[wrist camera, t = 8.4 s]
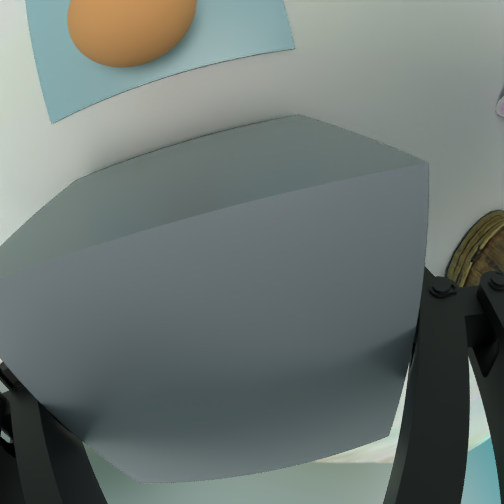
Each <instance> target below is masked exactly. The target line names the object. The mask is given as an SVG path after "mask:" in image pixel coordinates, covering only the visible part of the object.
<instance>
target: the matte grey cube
mask: <svg viewBox="0 0 504 504" xmlns="http://www.w3.org/2000/svg"><path fill="white" fill-rule="evenodd" d="M428 203H429V166H428V163H427V162H425V161H423V160H421V159H418V158H416V157H414V156H412V155H409V154H407V153H405V152H402V151H400V150H397V149H395V148H393V147H390V146H388V145H385V144H383V143H380V142H378V141H375V140H372V139H370V138H367V137H364V136H362V135H359V134H356V133H354V132H351V131H348V130H345V129H342V128H339V127H336V126H333V125H330V124H327V123H324V122H321V121H318V120H315V119H311V118H308V117H305V116H301V115H295V116H290V117H285V118H280V119H275V120H270V121H265V122H260V123H256V124H251V125H247V126H243V127H239V128H234V129H230V130H226V131H222V132H219V133H215V134H211V135H207V136H204V137H200V138H196V139H193V140H189V141H186V142H182V143H179V144H176V145H172V146H169V147H166V148H163V149H160V150H157V151H153V152H150V153H147V154H144V155H141V156H138V157H136V158H133V159H130V160H127V161H124V162H121V163H119V164H116V165H113V166H110V167H108V168H105V169H103V170H100V171H97V172H95V173H92V174H90V175H87V176H85V177H82V178H80V179H77V180H75V181H74V182H73V183H72V184H70V185H69V186H68V187H66V188H65V189H64V190H63V191H62V192H60V193H59V194H58V195H57V196H55V197H54V198H53V199H52V200H51V201H49V202H48V203H47V204H46V205H45V206H43V207H42V208H41V209H40V210H39V211H38V212H37V213H35V214H34V215H33V216H32V217H31V218H30V219H29V220H28V221H27V222H25V223H24V224H23V225H22V226H21V227H20V228H19V229H18V230H17V231H16V232H15V233H14V234H13V235H12V236H10V237H9V238H8V239H7V240H6V241H5V242H4V243H3V244H2V245H1V246H0V358H1V359H2V361H3V362H4V363H5V364H6V366H7V367H8V368H9V369H10V370H11V371H12V373H13V374H14V375H15V376H16V377H17V378H18V379H19V381H20V382H21V383H22V384H23V385H24V386H25V387H26V388H27V389H28V390H29V391H30V393H31V394H32V395H33V396H34V397H35V398H36V399H37V400H38V401H39V402H40V403H41V404H42V405H43V406H44V407H45V408H46V409H47V410H48V411H49V412H50V413H51V414H52V415H53V416H55V417H56V418H57V419H58V420H59V421H60V422H61V423H62V424H63V425H64V426H65V427H67V428H68V429H69V430H70V431H71V432H72V433H73V434H75V435H76V436H77V437H78V438H79V439H80V440H82V441H83V442H84V443H85V444H87V445H88V446H89V447H90V448H91V449H93V450H94V451H95V452H97V453H98V454H99V455H100V456H102V457H103V458H104V459H106V460H107V461H108V462H110V463H111V464H113V465H114V466H115V467H117V468H118V469H119V470H121V471H122V472H124V473H125V474H127V475H128V476H130V477H131V478H133V479H134V480H136V481H137V482H139V483H176V482H191V481H204V480H214V479H221V478H230V477H237V476H244V475H250V474H256V473H262V472H267V471H272V470H276V469H282V468H286V467H290V466H295V465H299V464H303V463H307V462H311V461H315V460H318V459H322V458H325V457H329V456H332V455H336V454H339V453H342V452H345V451H348V450H351V449H354V448H357V447H360V446H363V445H366V444H369V443H371V442H374V441H377V440H380V439H382V438H385V437H387V436H389V433H390V430H391V427H392V424H393V421H394V418H395V414H396V411H397V407H398V404H399V400H400V397H401V393H402V389H403V385H404V381H405V377H406V373H407V369H408V365H409V360H410V356H411V351H412V346H413V341H414V336H415V330H416V325H417V319H418V313H419V306H420V300H421V292H422V285H423V276H424V267H425V256H426V244H427V229H428Z"/></svg>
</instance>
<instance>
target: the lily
mask: <svg viewBox="0 0 504 504" xmlns="http://www.w3.org/2000/svg"><path fill="white" fill-rule="evenodd" d="M496 113H497V114H498V115H500V116H502V117H504V96H503V97H502V98H501V99H500V100H499V101H498V103H497V105H496Z"/></svg>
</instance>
